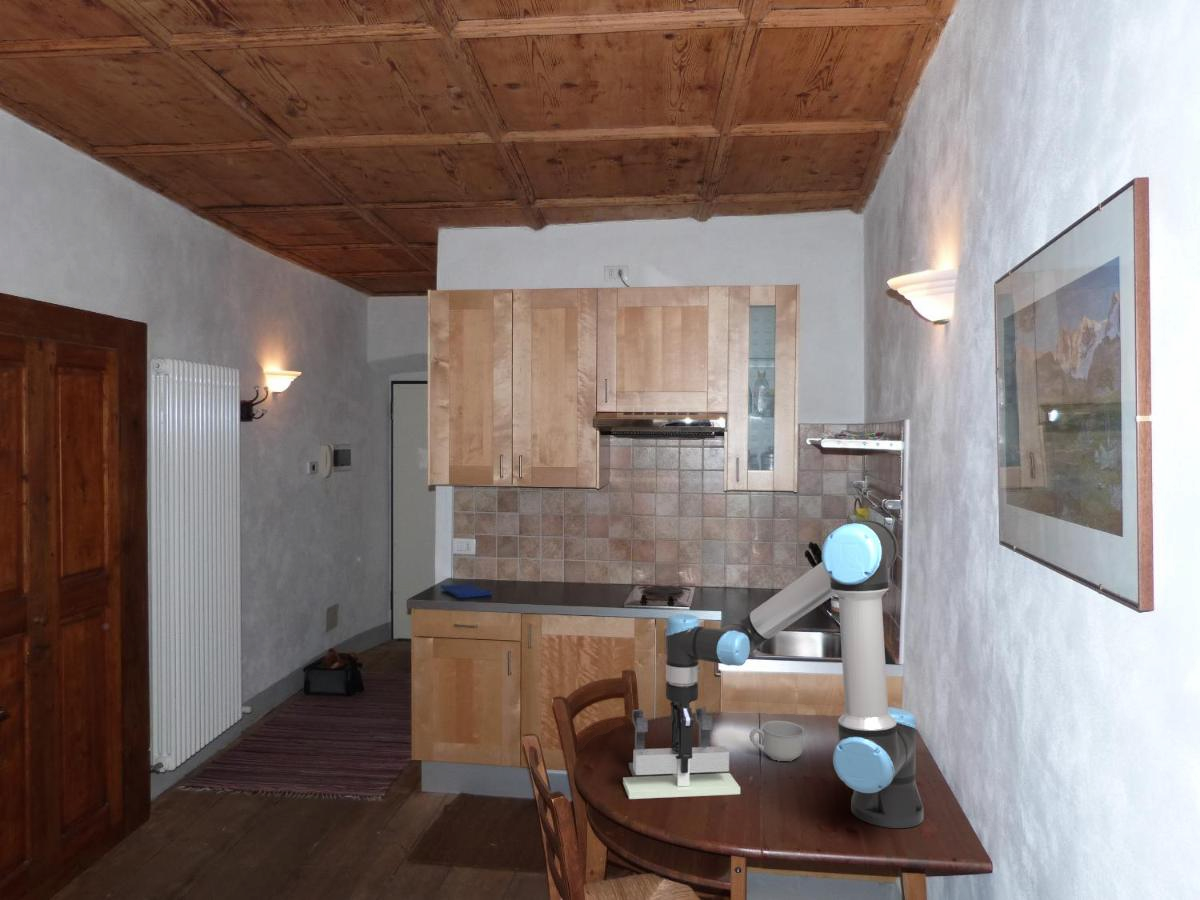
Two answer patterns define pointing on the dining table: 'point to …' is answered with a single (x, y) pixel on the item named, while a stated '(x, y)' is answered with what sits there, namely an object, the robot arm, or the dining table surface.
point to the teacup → (780, 740)
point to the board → (669, 788)
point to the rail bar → (667, 762)
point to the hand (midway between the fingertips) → (681, 781)
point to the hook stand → (642, 727)
